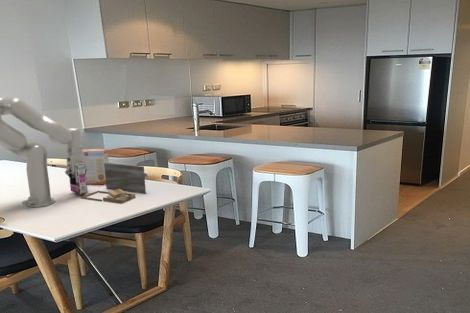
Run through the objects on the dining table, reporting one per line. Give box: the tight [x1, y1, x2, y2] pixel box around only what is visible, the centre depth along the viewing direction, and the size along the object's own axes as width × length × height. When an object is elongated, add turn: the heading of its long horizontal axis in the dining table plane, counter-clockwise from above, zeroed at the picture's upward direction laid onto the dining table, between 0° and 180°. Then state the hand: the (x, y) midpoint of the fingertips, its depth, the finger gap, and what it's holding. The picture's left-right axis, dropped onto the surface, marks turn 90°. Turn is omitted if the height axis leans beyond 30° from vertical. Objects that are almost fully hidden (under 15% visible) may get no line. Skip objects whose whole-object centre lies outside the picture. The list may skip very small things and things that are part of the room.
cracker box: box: [82, 148, 109, 186], centre depth 241 cm, size 14×6×21 cm, turn 84°
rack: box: [80, 162, 147, 205], centre depth 213 cm, size 20×26×16 cm
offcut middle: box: [106, 194, 129, 200], centre depth 208 cm, size 7×9×2 cm
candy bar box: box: [68, 163, 89, 195], centre depth 221 cm, size 11×5×16 cm, turn 47°
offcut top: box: [108, 189, 127, 199], centre depth 208 cm, size 6×8×2 cm
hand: (78, 182), depth 222 cm, fingers closed on candy bar box, 6 cm apart
